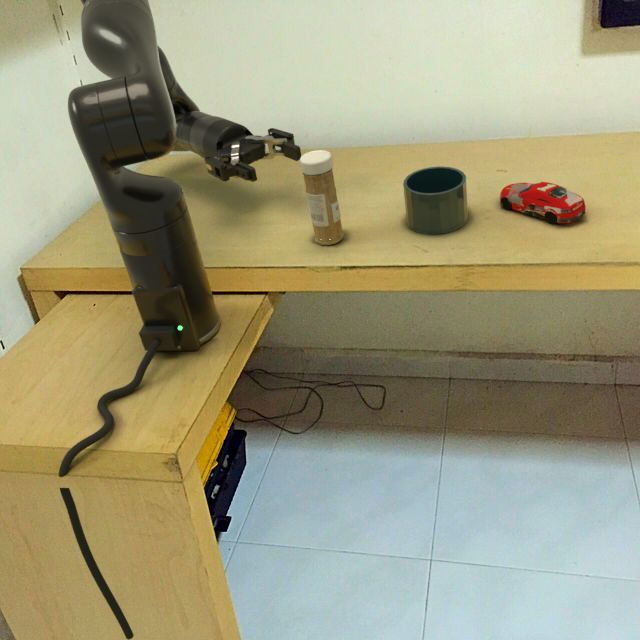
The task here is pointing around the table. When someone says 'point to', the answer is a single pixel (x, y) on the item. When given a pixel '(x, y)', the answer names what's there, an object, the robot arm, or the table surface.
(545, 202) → the race car
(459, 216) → the cup
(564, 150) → the table surface
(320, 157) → the sprinkles bottle
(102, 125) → the robot arm
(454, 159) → the table surface
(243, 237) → the table surface
